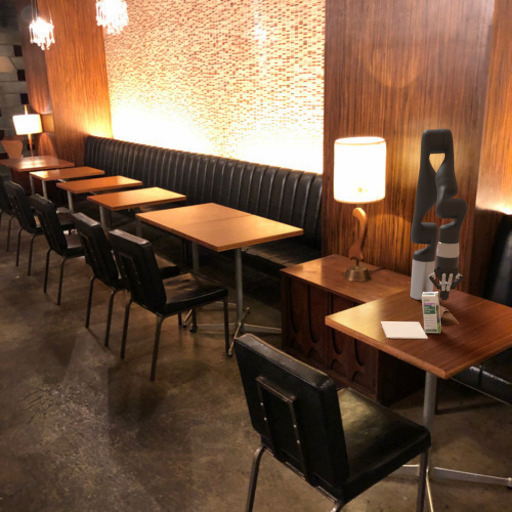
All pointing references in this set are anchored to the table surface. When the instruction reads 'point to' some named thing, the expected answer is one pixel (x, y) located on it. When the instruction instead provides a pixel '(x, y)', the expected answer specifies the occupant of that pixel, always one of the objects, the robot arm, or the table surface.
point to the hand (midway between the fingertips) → (443, 299)
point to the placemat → (403, 330)
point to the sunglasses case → (446, 316)
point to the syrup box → (431, 312)
